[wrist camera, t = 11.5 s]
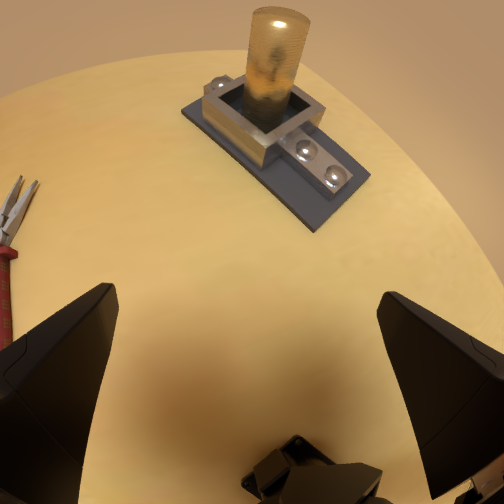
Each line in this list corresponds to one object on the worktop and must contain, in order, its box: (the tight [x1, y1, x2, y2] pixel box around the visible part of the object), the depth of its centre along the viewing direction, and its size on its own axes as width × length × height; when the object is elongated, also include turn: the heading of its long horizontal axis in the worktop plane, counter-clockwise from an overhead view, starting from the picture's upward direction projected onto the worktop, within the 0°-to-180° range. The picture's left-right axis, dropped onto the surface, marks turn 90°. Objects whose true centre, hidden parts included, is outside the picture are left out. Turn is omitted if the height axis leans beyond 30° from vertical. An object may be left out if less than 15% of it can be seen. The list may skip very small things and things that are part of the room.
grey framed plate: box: [202, 74, 353, 201], centre depth 25 cm, size 17×8×4 cm, turn 44°
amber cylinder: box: [241, 6, 310, 135], centre depth 21 cm, size 4×4×12 cm
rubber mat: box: [181, 98, 371, 233], centre depth 27 cm, size 18×9×1 cm, turn 44°
